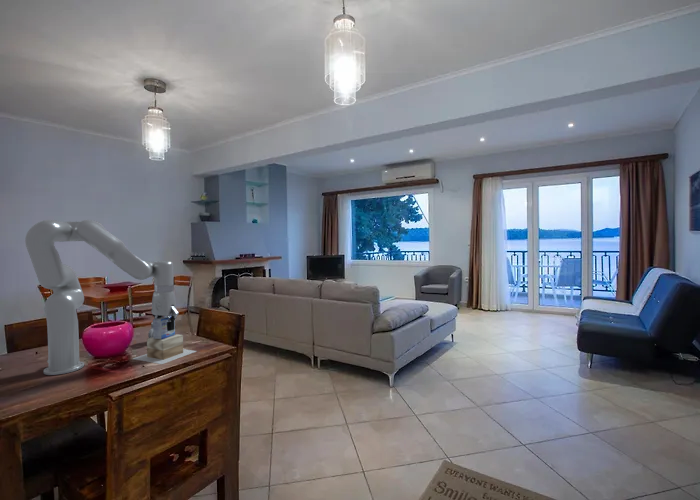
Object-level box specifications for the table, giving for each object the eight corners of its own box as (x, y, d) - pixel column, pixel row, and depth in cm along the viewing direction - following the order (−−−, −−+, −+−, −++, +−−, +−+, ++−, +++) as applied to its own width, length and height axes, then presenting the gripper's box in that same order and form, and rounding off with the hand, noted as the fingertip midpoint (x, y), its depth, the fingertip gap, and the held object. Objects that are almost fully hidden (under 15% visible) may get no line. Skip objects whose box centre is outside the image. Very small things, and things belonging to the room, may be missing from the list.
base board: (132, 360, 148) (132, 358, 148) (168, 348, 165) (168, 346, 165) (161, 366, 141) (161, 364, 141) (197, 353, 157) (197, 351, 157)
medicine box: (161, 339, 148) (160, 319, 148) (152, 339, 149) (152, 319, 149) (175, 334, 156) (174, 315, 155) (167, 334, 157) (166, 315, 157)
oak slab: (147, 356, 150) (147, 347, 150) (167, 350, 159) (167, 341, 159) (163, 359, 146) (163, 350, 146) (183, 352, 155) (183, 343, 155)
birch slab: (147, 347, 150) (146, 338, 150) (167, 341, 159) (167, 333, 159) (163, 350, 146) (163, 341, 146) (183, 343, 155) (182, 335, 155)
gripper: (142, 289, 152) (143, 329, 152) (170, 291, 145) (171, 333, 146) (158, 287, 159) (158, 325, 159) (185, 289, 152) (186, 329, 152)
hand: (164, 329), depth 152 cm, fingers open, 6 cm apart
